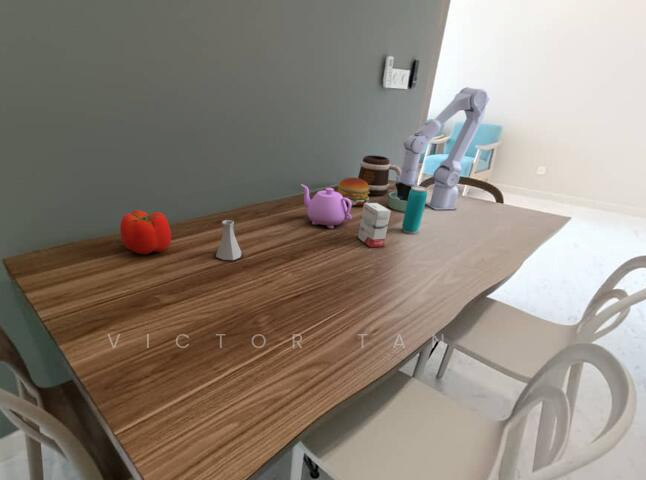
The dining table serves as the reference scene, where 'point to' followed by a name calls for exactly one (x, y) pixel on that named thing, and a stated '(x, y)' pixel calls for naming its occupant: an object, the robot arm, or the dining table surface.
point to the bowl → (396, 202)
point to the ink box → (374, 224)
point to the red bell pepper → (145, 232)
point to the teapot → (327, 207)
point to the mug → (377, 174)
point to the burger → (354, 190)
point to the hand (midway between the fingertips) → (402, 202)
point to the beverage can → (414, 209)
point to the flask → (228, 243)
